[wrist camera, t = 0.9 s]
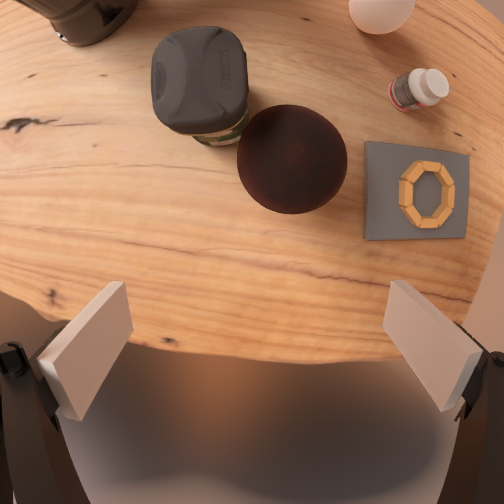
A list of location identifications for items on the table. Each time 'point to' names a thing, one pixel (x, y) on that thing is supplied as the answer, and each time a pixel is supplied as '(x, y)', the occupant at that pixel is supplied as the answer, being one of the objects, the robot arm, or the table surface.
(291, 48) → the table surface
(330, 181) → the decorative mushroom
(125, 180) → the table surface
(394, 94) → the pill bottle
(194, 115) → the coffee jar
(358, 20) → the sauce bottle
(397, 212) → the socket board
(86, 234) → the table surface
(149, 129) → the table surface
